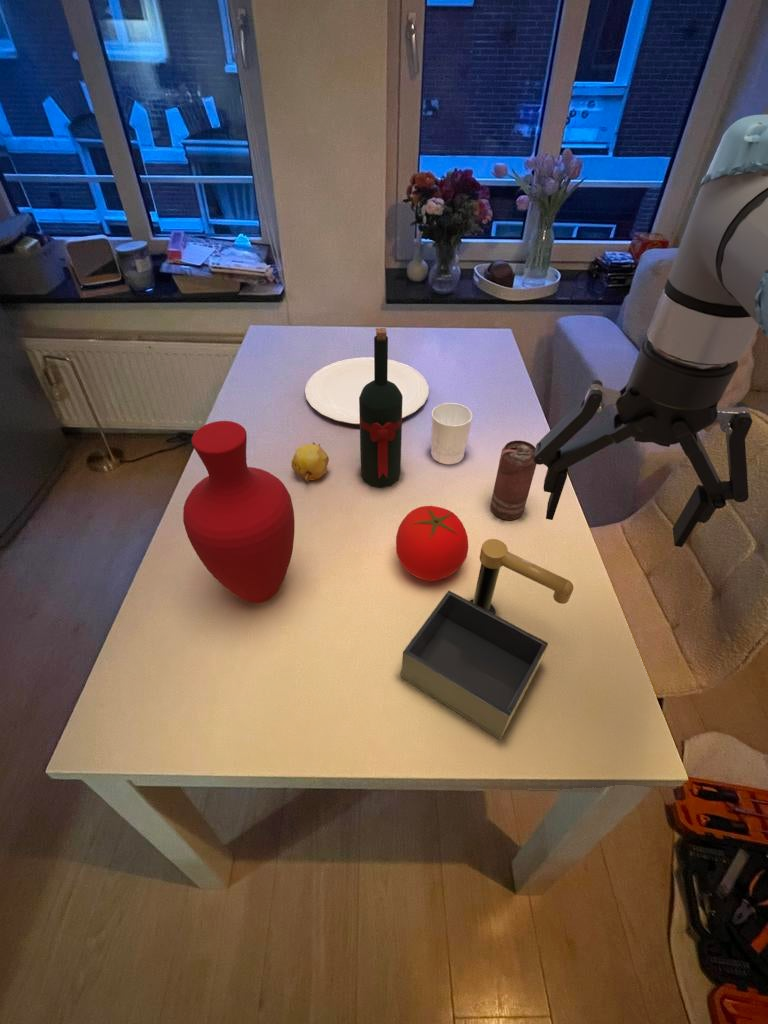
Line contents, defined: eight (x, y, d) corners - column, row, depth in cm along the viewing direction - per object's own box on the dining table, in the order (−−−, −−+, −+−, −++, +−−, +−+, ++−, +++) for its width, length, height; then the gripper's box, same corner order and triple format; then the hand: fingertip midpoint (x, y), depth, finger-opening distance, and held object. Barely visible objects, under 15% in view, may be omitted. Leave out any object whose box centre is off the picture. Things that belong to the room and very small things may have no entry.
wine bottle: (362, 496, 99) (357, 350, 78) (360, 462, 107) (355, 320, 86) (403, 494, 100) (410, 348, 79) (398, 460, 107) (403, 318, 86)
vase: (192, 605, 82) (127, 453, 61) (247, 541, 91) (207, 391, 70) (272, 640, 77) (233, 489, 56) (321, 568, 87) (303, 417, 66)
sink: (500, 740, 67) (509, 717, 63) (401, 677, 73) (402, 652, 69) (537, 668, 74) (548, 642, 70) (444, 616, 81) (448, 590, 76)
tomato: (469, 591, 84) (477, 548, 77) (396, 592, 84) (397, 548, 76) (460, 536, 92) (467, 492, 85) (394, 536, 92) (395, 493, 85)
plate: (344, 353, 139) (344, 346, 137) (447, 380, 129) (447, 373, 128) (281, 409, 120) (279, 402, 119) (395, 444, 111) (395, 437, 110)
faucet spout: (474, 565, 72) (477, 550, 69) (485, 550, 74) (488, 535, 71) (563, 610, 67) (569, 595, 64) (572, 592, 69) (579, 577, 66)
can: (483, 502, 99) (494, 442, 89) (513, 495, 100) (528, 436, 90) (497, 524, 95) (511, 464, 85) (529, 517, 96) (546, 457, 86)
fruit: (324, 470, 96) (336, 437, 103) (287, 459, 95) (301, 427, 102) (318, 495, 101) (329, 462, 108) (283, 485, 100) (297, 452, 107)
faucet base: (486, 633, 78) (500, 580, 69) (457, 618, 80) (467, 564, 71) (500, 611, 81) (515, 557, 72) (472, 597, 83) (483, 542, 74)
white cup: (431, 467, 106) (435, 426, 99) (425, 443, 111) (428, 403, 104) (470, 465, 106) (476, 424, 99) (462, 442, 112) (468, 401, 105)
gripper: (848, 349, 44) (728, 525, 59) (543, 309, 49) (504, 480, 64) (879, 396, 39) (739, 576, 54) (535, 346, 44) (495, 523, 59)
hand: (611, 524), depth 59 cm, fingers open, 13 cm apart
